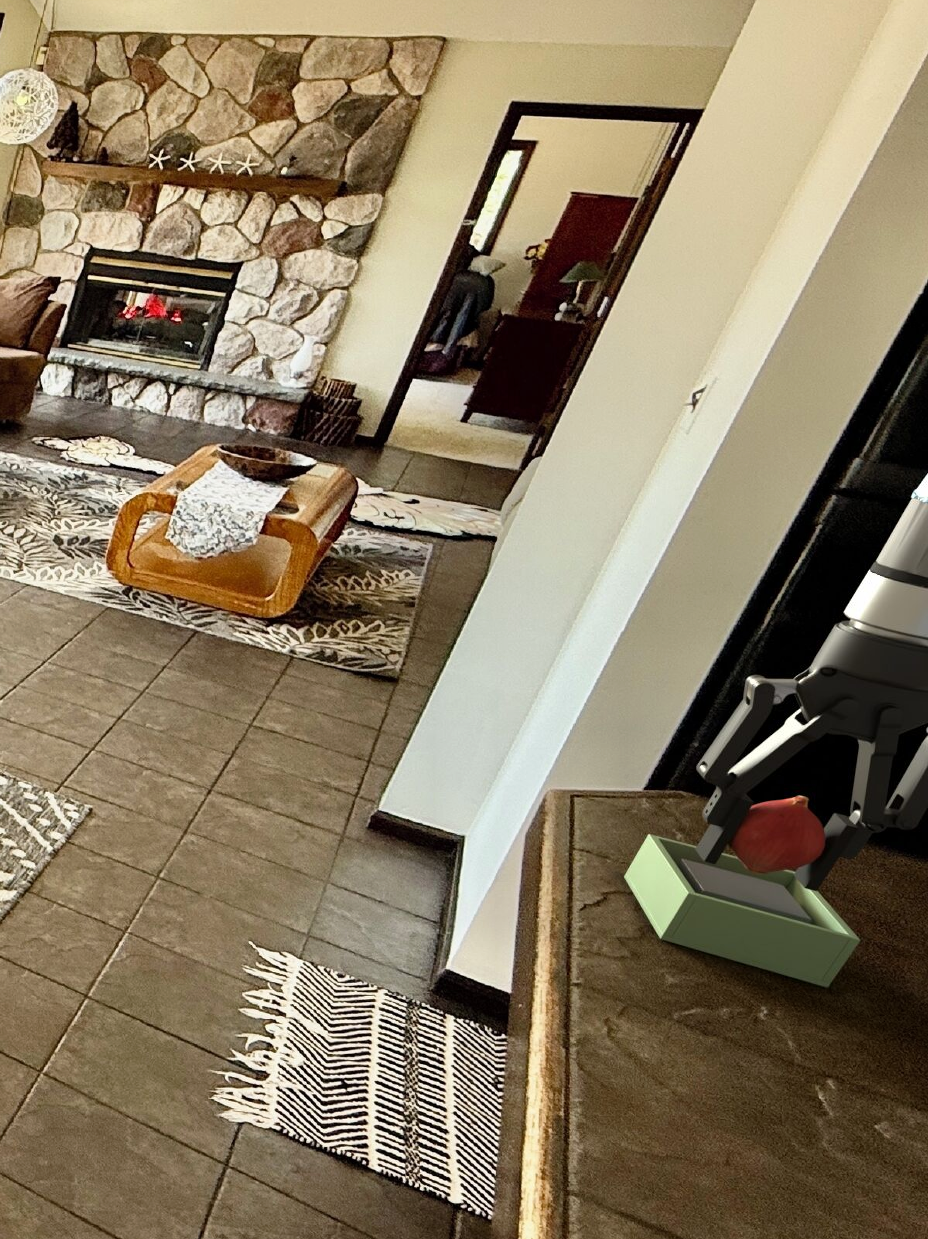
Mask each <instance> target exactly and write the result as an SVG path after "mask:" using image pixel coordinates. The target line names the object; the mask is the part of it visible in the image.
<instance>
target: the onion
mask: <svg viewBox="0 0 928 1239" xmlns="http://www.w3.org/2000/svg"><path fill="white" fill-rule="evenodd" d="M809 799H810V798H808V797H806V796H803V795H796V796H795V797H789V798H785V799H776V800H769V801H764V802H760V803H756V804H753V805H752V806H751V808H750V810H749V811H748V813H747V814H746V816H745V818H744V819H743V821H742V822H741V824H740V826H739V827H738V829H737V830H736V832H735V834H734V835H733V837H732V838H731V840H730V842H729V843H728V845H727V846H729V848H730V850H731V851H732V853H733V855H734V856H736V857H737V858H738V859H739V860H740V861H741V862H742V863H743V865H744V866H745V868H746V869H747V870H748V871H751V872H753V873H756V874H766V873H769V872H775V871H782V870H793V869H798V868H799V867H802V866H805V865H807V864H809V863H812V862H814V861H815V860H816V859H817V858H818V857H819V856H820V855H821V854H822V851H823V849H824V847H825V832H824V828H825V827H824V826H823V823H822V822H821V820H820V819H819V818H818V817H817V816H816V815H815V814H814V813H813V812H812V811H811V810H810V809H809V807H808V806H809V805H808V804H809V801H810V800H809Z"/></svg>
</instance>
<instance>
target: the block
mask: <svg viewBox="0 0 928 1239" xmlns="http://www.w3.org/2000/svg"><path fill="white" fill-rule="evenodd" d="M677 867H678V868H679V870H680V871H681V873H682V874H683V876H684V877H685V878H686V880H687V881H688V883H689V884H690V886H691V887H692V889H693V890H694V892H695V893H698V894H702V895H705V896H709V897H713V898H716V899H720V900H724V901H727V902H731V903H735V904H738V905H742V906H746V907H749V908H753V909H757V910H760V911H764V912H767V913H771V914H775V915H778V916H782V917H786V918H789V919H793V920H797V921H800V922H804V923H808V924H809V923H810V922H811V918H810V917H809V916H808V915H807V914H806V912H805V911H804V910H803V909H802V908H801V906H800V905H799V904H798V903H797V901H796V900H795V899H794V898H793V897H792V895H791V894H790V893H789V892H788V891H787V889H786V888H785V887H784V886H783V885H780V884H776V883H773V882H769V881H765V880H761V879H757V878H754V877H750V876H746V875H742V874H739V873H735V872H731V871H727V870H723V869H720V868H716V867H712V866H708V865H704V864H701V863H697V862H693V861H689V860H686V859H681V860H680V862H679V864H678V865H677Z"/></svg>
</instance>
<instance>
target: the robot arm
mask: <svg viewBox="0 0 928 1239" xmlns="http://www.w3.org/2000/svg"><path fill="white" fill-rule="evenodd" d="M910 498H911V500H910V501H909V502H908V505H907V506H906V508H905V509H904V512H903V513H902V514H901V517H900V518H899V520H898V522H897V524H896V525H895V527H894V529H893V531H892V532H891V534H890V536H889V537H888V539H887V541H886V543H885V544H884V546H883V547H882V550H881V552H880V553H879V555H878V557H877V558H876V560H875V561H874V562H873V564H872V565H871V567H870V568H869V570H868V571H867V573H866V574H865V576H864V578H863V579H862V581H861V583H860V584H859V586H858V587H857V589H856V591H855V593H854V594H853V596H852V598H851V599H850V600H849V603H848V604H847V606H846V607H845V609H844V611H843V614H844V615H845V616H846V617H847V618H848V619H850V620H842V621H841V622H837V623H835V624H834V626H833V628H832V629H831V631H830V633H829V634H828V636H827V637H826V639H825V641H824V642H823V644H822V646H821V648H820V649H819V651H818V652H817V654H816V656H815V657H814V659H813V661H812V663H811V665H810V666H809V667H808V668H807V669H806V670H804V671H803V672H801V673H799V674H798V675H796V676H795V677H794V678H765V676H764V675H763V676H762V674H761V675H760V674H753V675H749V676H748V677H747V678H746V679H745V683H744V690H743V699H742V700H741V701H740V703H739V705H738V706H737V707H736V709H735V710H734V711H733V713H732V714H731V716H730V718H729V719H728V720H727V722H726V723H725V724H724V726H723V727H722V729H721V730H720V731H719V733H718V734H717V736H716V737H715V739H714V740H713V742H712V743H711V745H710V746H709V748H708V749H707V750H706V751H705V753H704V755H703V756H702V757H701V759H700V760H699V762H698V763H697V764H696V767H695V768H696V771H697V773H699V775H700V776H701V777H702V778H703V780H704V781H705V782H706V783H709V784H711V785H714V786H715V787H716V788H715V790H714V791H713V794H712V795H711V797H710V798H709V800H708V801H707V803H706V804H705V807H704V808H703V810H702V811H701V813H702V814H701V816H702V819H703V821H705V823H706V824H708V828H706V831H705V832H704V834H703V836H702V837H701V839H700V841H699V843H698V844H697V845H696V846H697V847H696V849H695V850H696V851H697V853H698V854H699V855H700V857H701V858H702V859H703V861H704V862H708V863H712V864H716V862H717V861H718V859H719V858H720V856H721V854H722V853H724V851H725V850H726V848H727V846H729V845H728V843H729V842H730V840H731V838H732V837H733V835H734V834H735V832H736V830H737V829H738V827H739V826H740V824H741V822H742V821H743V819H744V818H745V816H746V814H747V813H748V811H749V810H750V808H751V806H753V805H754V803H755V802H754V801H753V800H752V799H751V798H750V796H749V795H748V794H747V793H749V792H750V791H751V790H752V789H754V788H755V787H756V786H758V784H760V783H761V782H762V781H763V780H765V779H766V778H767V777H769V776H770V775H771V774H772V773H774V772H775V771H776V770H778V769H779V768H780V767H781V766H782V765H784V764H785V763H786V762H787V761H788V760H790V759H791V758H792V757H793V756H795V755H796V754H797V753H799V752H800V751H801V750H802V749H804V748H805V747H807V745H808V744H810V743H813V742H816V741H818V740H820V739H821V738H822V737H824V736H825V735H826V734H830V735H838V736H839V735H840V736H841V735H842V736H849V737H852V738H854V739H856V740H857V742H858V753H857V760H856V766H855V774H854V780H853V781H854V782H853V788H852V796H851V802H850V809H849V814H850V816H848V815H844V814H841V813H836V812H833V814H832V816H831V817H830V819H829V820H828V822H827V823H826V824H825V826H824V827H823V828H824V832H825V847H824V849H823V851H822V854H821V855H820V856H819V857H818V858H817V859H816V860H815V861H814V862H812V863H809V864H807V865H805V866H802V867H798V868H796V871H794V872H795V874H794V876H795V878H796V879H797V880H798V881H799V882H800V883H801V885H802V886H803V887H804V888H806V889H809V890H813V891H818V890H819V889H820V888H821V886H822V884H823V883H824V881H825V880H826V879H827V877H828V875H829V873H830V872H831V871H832V870H833V868H834V866H835V865H836V864H837V863H838V861H839V859H840V858H842V859H846V860H850V861H851V860H854V858H856V857H858V856H859V854H860V853H861V852H862V850H863V848H864V846H865V845H866V844H867V842H868V841H869V839H870V838H871V837H872V835H873V833H874V834H879V833H882V832H884V831H885V830H886V829H887V828H898V829H900V830H903V831H908V830H913V829H915V828H916V827H917V826H918V825H919V823H920V821H921V819H922V818H923V817H924V814H925V813H926V811H927V809H928V735H927V736H926V737H925V739H924V740H923V741H922V742H921V745H919V748H918V750H917V751H916V753H915V754H914V757H913V758H912V760H911V762H910V764H909V766H908V767H907V769H906V771H905V773H904V774H903V776H902V778H901V780H900V782H899V783H898V785H897V786H896V789H895V790H894V792H893V794H892V795H891V797H890V799H889V801H888V803H887V799H888V791H889V785H890V778H891V771H892V765H893V758H894V756H895V755H897V751H898V744H899V738H900V735H901V734H903V733H905V732H908V731H911V730H912V729H916V728H918V727H920V726H923V725H925V724H927V723H928V473H927V474H926V475H925V477H924V478H923V479H922V481H921V483H920V484H919V485H918V487H917V488H916V489H914V490H913V492H912V494H911V496H910ZM793 694H794V696H795V698H796V701H797V703H798V706H799V709H798V710H796V711H795V712H794V713H793V714H791V715H790V716H789V717H788V718H787V719H785V721H784V724H783V725H782V726H781V727H780V728H778V730H776V731H775V732H774V733H773V734H772V735H770V736H769V737H768V738H766V739H765V740H764V741H763V742H762V743H760V744H759V745H758V746H757V747H755V748H754V749H753V750H752V751H751V752H750V753H748V754H747V755H746V756H745V757H743V758H742V759H741V760H740V761H739V762H737V761H738V759H739V758H740V757H741V755H742V754H743V752H744V751H745V749H746V748H747V747H748V745H749V744H750V742H751V741H752V740H753V739H754V737H755V736H756V734H757V733H758V732H759V730H760V729H761V728H762V726H763V724H764V723H765V722H766V720H767V719H768V717H770V716H769V715H771V712H772V709H773V708H774V707H773V706H774V705H779V704H781V703H782V702H784V700H785V698H786V697H787V696H790V695H793ZM926 733H927V734H928V727H927V728H926ZM736 762H737V763H736ZM735 763H736V764H735ZM886 804H887V805H886Z"/></svg>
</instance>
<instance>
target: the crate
mask: <svg viewBox="0 0 928 1239" xmlns="http://www.w3.org/2000/svg"><path fill="white" fill-rule="evenodd" d="M697 846H698V845H694V844H689V843H685V842H682V841H677V840H674V839H670V838H667V837H663V836H658V835H654V834H650V833H648V834H647V836H646V838H645V840H644V841H643V843H642V845H641V847H640V848H639V850H638V852H637V853H636V855H635V857H634V859H633V860H632V862H631V864H630V865H629V867H628V869H627V871H626V873H625V874H624V875H623V878H624V880H625V881H626V884H628V887H629V888H630V890H631V891H632V893H633V895H634V896H635V898H636V900H637V902H638V903H639V905H640V907H641V909H642V911H643V912H644V913H645V915H646V917H647V919H648V921H649V922H650V924H651V926H652V927H653V930H654V931H655V932H656V934H657V936H658V938H659V939H660V940H661V941H665V942H669V943H672V944H676V945H679V946H683V947H686V948H690V949H694V950H695V951H701V952H704V953H707V954H709V955H713V956H717V957H720V958H724V959H728V960H730V961H734V962H737V963H741V964H745V965H748V966H751V967H755V968H758V969H762V970H765V971H769V972H771V973H775V974H779V975H782V976H786V977H788V978H789V977H790V978H792V979H797V980H800V981H803V982H806V983H810V984H812V985H813V984H814V985H817V986H820V987H824V988H828V989H829V987H830V985H831V983H832V982H833V981H834V979H835V978H836V976H837V975H838V974H839V972H840V971H841V969H842V968H843V966H844V965H845V964H846V962H847V961H848V959H849V958H850V957H851V955H852V953H853V952H854V950H855V949H856V948H857V946H858V945H859V943H860V942H861V939H860V938H859V937H858V936H857V934H856V933H855V932H854V931H853V930H852V929H851V927H850V926H849V925H848V924H847V923H846V922H845V921H844V920H843V918H842V917H841V916H840V915H839V914H838V912H836V911H835V909H834V908H833V907H832V906H831V905H830V903H828V901H827V900H826V899H825V898H824V897H823V895H822V894H821V893H820V892H819V891H818V890H817V891H813V890H809V889H806V888H804V887H803V886H802V885H801V883H800V882H799V881H798V880H797V879H796V878H795V876H794V874H795V872H796V871H793V870H791V869H788V870H782V871H775V872H769V873H766V874H756V873H753V872H751V871H748V870H747V869H746V868H745V866H744V865H743V863H742V862H741V861H740V860H739V859H738V858H737V857H736V855H732V854H728V853H724V852H723V853H722V854H721V856H720V858H719V859H718V861H717V862H716V864H712V863H708V862H704V861H703V859H702V858H701V857H700V855H699V854H698V853H697V851H696V850H695V849H696V847H697ZM681 859H686V860H689V861H693V862H697V863H701V864H704V865H708V866H712V867H716V868H720V869H723V870H727V871H731V872H735V873H739V874H742V875H746V876H750V877H754V878H757V879H761V880H765V881H769V882H773V883H776V884H780V885H783V886H784V887H785V888H786V889H787V891H788V892H789V893H790V894H791V895H792V897H793V898H794V899H795V900H796V901H797V903H798V904H799V905H800V906H801V908H802V909H803V910H804V911H805V912H806V914H807V915H808V916H809V917H810V918H811V922H810V923H809V924H808V923H804V922H800V921H797V920H793V919H789V918H786V917H782V916H778V915H775V914H771V913H767V912H764V911H760V910H757V909H753V908H749V907H746V906H742V905H738V904H735V903H731V902H727V901H724V900H720V899H716V898H713V897H709V896H705V895H702V894H698V893H695V892H694V890H693V889H692V887H691V886H690V884H689V883H688V881H687V880H686V878H685V877H684V876H683V874H682V873H681V871H680V870H679V868H678V867H677V865H678V864H679V862H680V860H681Z"/></svg>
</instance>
